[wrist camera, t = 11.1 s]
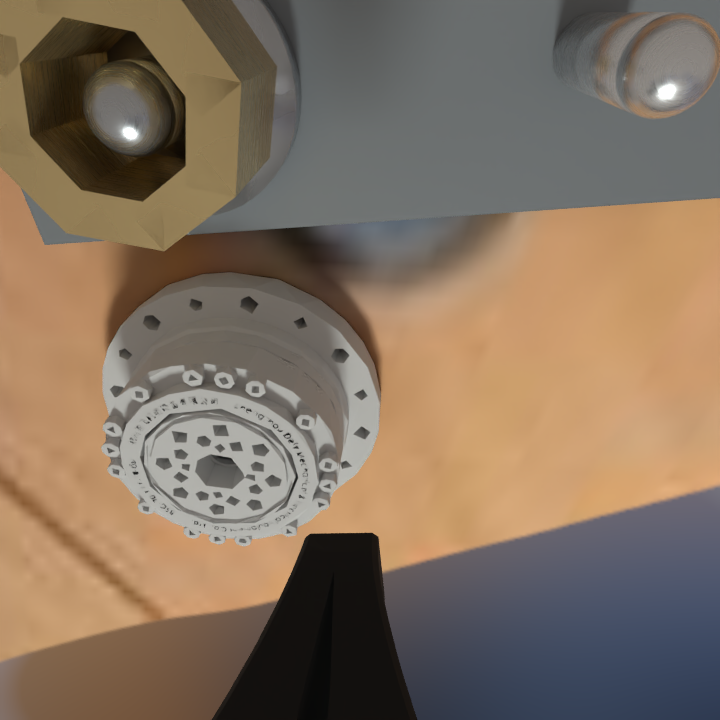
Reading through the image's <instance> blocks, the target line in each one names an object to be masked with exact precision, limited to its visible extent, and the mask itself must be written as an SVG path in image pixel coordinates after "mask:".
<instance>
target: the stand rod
mask: <svg viewBox="0 0 720 720" xmlns="http://www.w3.org/2000/svg"><path fill="white" fill-rule="evenodd" d="M552 60H553V67H554V71H555V73H556V75H557V77H558V78H559V80H560V81H561V82H562V83H564V84H565V85H567V86H569V87H571V88H573V89H576V90H578V91H580V92H583V93H585V94H587V95H590V96H592V97H594V98H597V99H599V100H601V101H604V102H606V103H608V104H611V105H613V106H615V107H618V108H620V109H622V110H625V111H627V112H629V113H632V114H634V115H636V116H639V117H642V118H646V119H663V118H668V117H672V116H675V115H677V114H680V113H682V112H684V111H685V110H687V109H689V108H690V107H692V106H693V105H694V104H696V103H697V102H698V101H699V100H700V99H701V98H702V97H703V96H704V95H705V94H706V92H707V91H708V90H709V89H710V87H711V86H712V84H713V82H714V80H715V78H716V76H717V74H718V71H719V67H720V39H719V37H718V34H717V32H716V31H715V29H714V28H713V26H712V25H711V24H710V23H709V22H707V21H706V20H705V19H703V18H702V17H700V16H698V15H695V14H692V13H685V12H591V13H586V14H583V15H581V16H578V17H577V18H575V19H573V20H572V21H571V22H570V23H569V24H568V25H567V26H566V27H565V28H564V29H563V30H562V32H561V33H560V35H559V36H558V38H557V40H556V43H555V46H554V50H553V59H552Z"/></svg>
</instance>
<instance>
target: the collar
mask: <svg viewBox="0 0 720 720" xmlns="http://www.w3.org/2000/svg"><path fill="white" fill-rule="evenodd" d="M128 30H129V31H134V32H136V34H137V35H138V36H139V38H140V39H141V40H142V41H143V43H144V44H145V45H146V47H147V48H148V49H149V50H150V52H151V53H152V54H153V56H154V57H155V58H156V59H157V61H158V62H159V63H160V65H161V66H162V67H163V68H164V70H165V71H166V72H167V74H168V75H169V76H170V77H171V79H172V80H173V81H174V83H175V84H176V85H177V86H178V88H179V89H180V90H181V92H182V93H183V94H184V95H185V97H186V160H184V159H179V158H174V157H169V156H164V155H158V154H153V155H150V156H146V157H130V156H126V155H122V154H120V153H117V152H115V151H113V150H111V149H110V148H108V147H107V146H106V145H105V144H103V143H102V142H101V141H100V140H99V139H98V138H97V137H96V136H95V134H94V133H93V132H92V130H91V128H90V127H89V125H88V123H87V120H86V118H85V114H84V110H83V92H84V88H85V85H86V83H87V81H88V79H89V77H90V76H91V75H92V73H93V72H94V71H95V70H97V69H98V68H99V67H100V66H102V65H104V64H106V63H108V62H107V51H108V50H109V49H110V48H111V47H112V46H113V45H114V44H115V43H116V42H117V41H118V40H119V39H120V38H121V37H122V36H123V35H124V34H125V33H126V32H127V31H128ZM276 76H277V65H276V64H275V63H274V61H273V60H272V58H271V57H270V55H269V54H268V52H267V51H266V49H265V48H264V46H263V45H262V44H261V42H260V41H259V39H258V38H257V36H256V35H255V33H254V32H253V30H252V29H251V27H250V26H249V24H248V23H247V22H246V20H245V19H244V17H243V16H242V14H241V13H240V11H239V10H238V8H237V7H236V5H235V4H234V3H233V1H232V0H0V167H1V168H2V169H3V170H4V171H5V172H6V173H7V174H8V175H9V176H10V177H11V178H12V179H13V180H14V181H15V182H16V183H17V184H18V185H19V186H20V187H21V188H22V189H23V190H24V191H25V192H26V193H27V194H28V195H29V196H30V197H31V198H32V199H33V200H34V201H35V202H36V203H37V204H38V205H39V206H40V207H41V208H42V209H43V210H44V211H45V212H46V213H47V214H48V215H49V216H50V217H51V218H52V219H53V220H54V221H55V222H56V223H57V224H58V225H59V226H60V227H61V228H62V229H63V230H64V231H65V232H66V233H68V234H73V235H79V236H84V237H89V238H95V239H100V240H106V241H111V242H116V243H122V244H127V245H133V246H138V247H143V248H149V249H154V250H160V251H165V250H167V249H168V248H169V247H171V246H172V245H173V244H174V243H176V242H177V241H178V240H180V239H181V238H182V237H184V236H185V235H186V234H188V233H189V232H190V231H191V230H193V229H194V228H195V227H197V226H198V225H199V224H201V223H202V222H203V221H205V220H206V219H207V218H209V217H210V216H211V215H212V214H214V213H215V212H216V211H218V210H219V209H220V208H222V207H223V206H224V205H226V204H227V203H228V202H229V201H231V200H232V199H233V198H235V197H236V196H237V195H238V194H239V193H240V191H241V190H242V189H243V188H244V187H245V186H246V185H247V183H248V182H249V181H250V180H251V179H252V178H253V176H254V175H255V174H256V173H257V172H258V171H259V170H260V168H261V167H262V166H263V165H264V164H265V163H266V162H267V160H268V159H269V158H270V150H271V138H272V126H273V113H274V101H275V89H276Z"/></svg>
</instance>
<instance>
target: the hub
mask: <svg viewBox="0 0 720 720" xmlns="http://www.w3.org/2000/svg"><path fill="white" fill-rule="evenodd" d="M232 1H233V3H234V4H235V5H236V7H237V8H238V10H239V11H240V13H241V14H242V16H243V17H244V19H245V20H246V22H247V23H248V24H249V26H250V27H251V29H252V30H253V32H254V33H255V35H256V36H257V38H258V39H259V41H260V42H261V44H262V45H263V46H264V48H265V49H266V51H267V52H268V54H269V55H270V57H271V58H272V60H273V61H274V63H275V64H276V65H277V76H276V89H275V101H274V113H273V126H272V138H271V150H270V158H269V159H268V160H267V162H266V163H265V164H264V165H263V166H262V167H261V168H260V170H259V171H258V172H257V173H256V174H255V175H254V176H253V178H252V179H251V180H250V181H249V182H248V183H247V185H246V186H245V187H244V188H243V189H242V190H241V191H240V193H239V194H238V195H237V196H236V197H235V198H233V199H232V200H231V201H229V202H228V203H227V204H226V205H224V206H223V207H222V208H220V209H219V210H218V211H216V212H215V213H214V214H212V215H218V214H221V213H225V212H228V211H231V210H233V209H235V208H238V207H240V206H242V205H244V204H245V203H247V202H248V201H250V200H251V199H253V198H254V197H255V196H257V195H258V194H259V193H260V192H261V191H262V190H263V189H264V188H265V187H266V186H267V185H268V184H269V183H270V181H271V180H272V179H273V178H274V176H275V175H276V174H277V172H278V171H279V170H280V168H281V167H282V165H283V164H284V162H285V160H286V159H287V157H288V155H289V153H290V151H291V149H292V146H293V144H294V141H295V138H296V135H297V131H298V127H299V121H300V115H301V99H302V95H301V81H300V75H299V70H298V65H297V60H296V57H295V54H294V51H293V47H292V44H291V42H290V40H289V37H288V35H287V33H286V31H285V28H284V26H283V25H282V23H281V21H280V19H279V18H278V16H277V14H276V12H275V11H274V9H273V8H272V7H271V5H270V4H269V3H268V1H267V0H232ZM107 62H108V63H106V64H104V65H102V66H100V67H99V68H98V69H97V70H95V71H94V72H93V73H92V75H91V76H90V77H89V79H88V81H87V83H86V85H85V88H84V92H83V110H84V114H85V118H86V120H87V123H88V125H89V127H90V128H91V130H92V132H93V133H94V134H95V136H96V137H97V138H98V139H99V140H100V141H101V142H102V143H103V144H105V145H106V146H107V147H108V148H110V149H111V150H113V151H115V152H117V153H120V154H122V155H126V156H130V157H146V156H150V155H153V154H158V155H164V156H169V157H174V158H179V159H184V160H186V97H185V95H184V94H183V93H182V92H181V90H180V89H179V88H178V86H177V85H176V84H175V83H174V81H173V80H172V79H171V77H170V76H169V75H168V74H167V72H166V71H165V70H164V68H163V67H162V66H161V65H160V63H159V62H158V61H157V59H156V58H155V57H154V56H153V54H152V53H151V52H150V50H149V49H148V48H147V47H146V45H145V44H144V43H143V41H142V40H141V39H140V38H139V36H138V35H137V34H136V32H134V31H129V30H128V31H127V32H126V33H125V34H124V35H123V36H122V37H121V38H120V39H119V40H118V41H117V42H116V43H115V44H114V45H113V46H112V47H111V48H110V49H109V50H108V51H107ZM212 215H211V216H212Z"/></svg>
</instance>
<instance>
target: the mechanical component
mask: <svg viewBox="0 0 720 720" xmlns="http://www.w3.org/2000/svg"><path fill="white" fill-rule="evenodd" d="M103 395H104V399H105V402H106V406H107V409H108V413H109V417H108V418H107V420H106V421H105V423H104V425H103V430H104V431H105V433H106V442H105V443H104V444H103V446H102V447H101V448H102V451H103V453H104V454H106V455H107V456H108V457H110V459H111V461H112V462H111V463H110V465H109V466H108V468H107V469H108V472H109V473H110V475H111V476H114V477H117V478H120V479H121V481H122V482H123V483H124V484H125V485H126V487H127V488H128V489H129V490H130V491H131V493H132V494H133V495H134V496H135V497H136V498H137V499H138V500H140V502H139V504H138V509H139V511H140V512H143V513H145V514H152V513H153V512H155V513H157V514H158V515H160V516H162V517H164V518H165V519H167V520H169V521H171V522H173V523H175V524H177V525H180V526H183V527H184V534H185V535H186V536H187V537H190V538H198V537H199V535H200V533H204V534H208V535H210V536H209V539H210V542H213V543H216V544H219V545H220V544H222V543H224V542H225V539H226V538H235V539H234V540H235V542H236V543H237V544H238V545H241V546H247V545H249V544H250V543H251V540H252V539H260V538H265V537H269V536H273V535H278V534H284V535H285V536H287V537H288V536H293V535H296V534H297V527H299V526H301V525H303V524H305V523H307V522H309V521H310V520H311V519H312V518H313V517H315V516H316V515H317V514H318V513H319V512H320V511H321V510H326V509H327V508H328V507H329V506H330V498H331V496H332V494H333V493H334V491H335V490H336V489H337V488H339V487H340V486H341V485H343V484H344V483H345V482H347V481H348V480H349V479H351V478H352V477H353V476H354V475H356V474H357V472H358V471H359V469H360V468H361V467H362V465H363V464H364V462H365V461H366V459H367V458H368V456H369V455H370V454H371V452H372V449H373V446H374V443H375V440H376V438H377V435H378V432H379V417H380V401H381V392H380V387H379V383H378V378H377V373H376V369H375V364H374V362H373V360H372V358H371V356H370V354H369V352H368V350H367V348H366V346H365V344H364V342H363V341H362V340H361V338H360V337H359V336H358V335H357V334H356V332H355V331H354V330H353V329H352V327H351V326H350V325H349V324H348V322H347V321H346V320H345V319H344V318H342V317H341V316H340V315H339V314H337V313H336V312H335V311H334V310H332V309H331V308H330V307H329V306H327V305H326V304H325V303H324V302H322V301H321V300H320V299H318V298H316V297H314V296H312V295H310V294H308V293H306V292H303V291H301V290H299V289H297V288H295V287H293V286H291V285H289V284H287V283H285V282H283V281H281V280H279V279H273V278H266V277H260V276H253V275H246V274H239V273H233V272H226V273H212V274H201V275H198V276H195V277H192V278H188V279H185V280H182V281H179V282H176V283H172V284H169V285H167V286H166V287H164V288H163V289H162V290H160V291H159V292H158V293H156V294H155V295H154V296H152V297H151V298H149V299H148V300H147V301H145V302H144V303H143V304H141V305H140V306H139V307H138V308H137V309H136V310H135V311H134V312H133V313H132V314H131V315H130V316H129V317H128V318H127V319H126V321H125V322H124V323H123V324H122V325H121V326H120V328H119V329H118V331H117V333H116V335H115V336H114V338H113V340H112V342H111V343H110V345H109V347H108V351H107V354H106V358H105V362H104V366H103Z"/></svg>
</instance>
